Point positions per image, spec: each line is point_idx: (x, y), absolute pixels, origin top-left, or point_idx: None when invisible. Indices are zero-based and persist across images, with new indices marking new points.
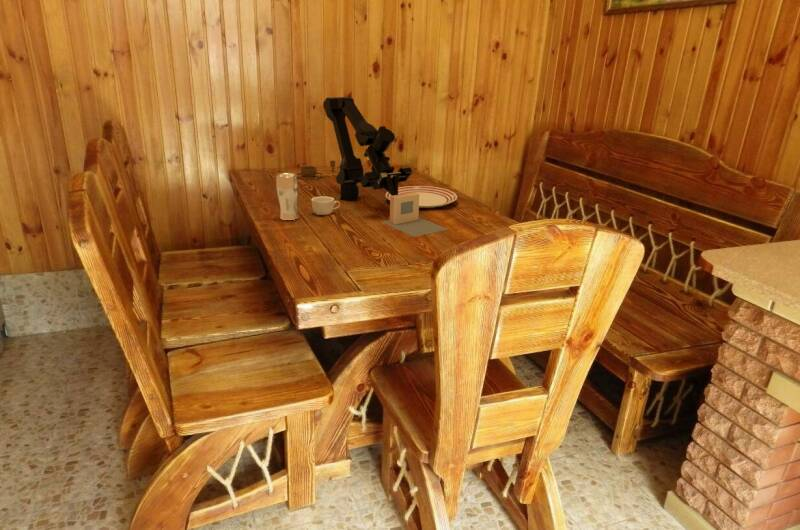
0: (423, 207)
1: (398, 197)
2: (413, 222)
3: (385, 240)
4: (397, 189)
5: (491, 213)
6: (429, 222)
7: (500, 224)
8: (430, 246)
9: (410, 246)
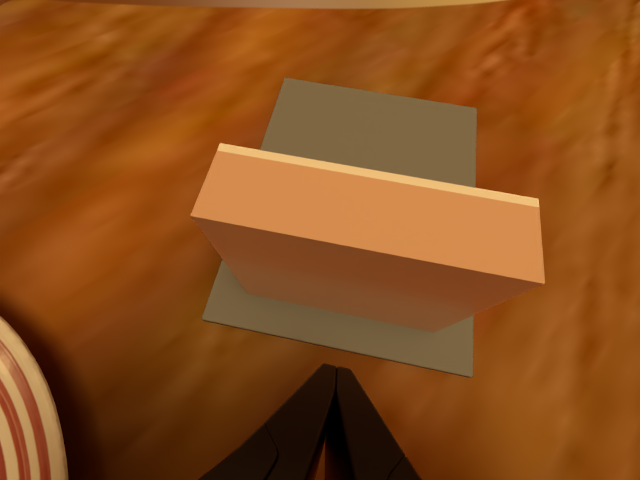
0: (11, 383)
1: (489, 190)
2: None
3: (605, 164)
4: (300, 400)
5: None
6: None
7: (72, 11)
8: (480, 34)
9: (546, 70)
